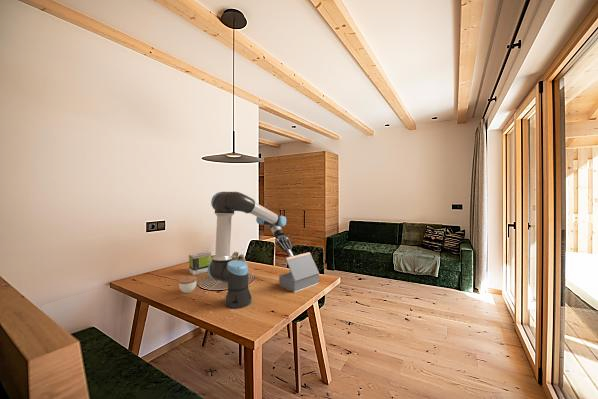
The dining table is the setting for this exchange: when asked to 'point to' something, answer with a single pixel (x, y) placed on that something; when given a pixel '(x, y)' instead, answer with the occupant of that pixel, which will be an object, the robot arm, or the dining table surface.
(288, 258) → the lid
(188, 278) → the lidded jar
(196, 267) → the tea box
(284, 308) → the dining table surface
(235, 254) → the owl figurine
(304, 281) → the mailer box
